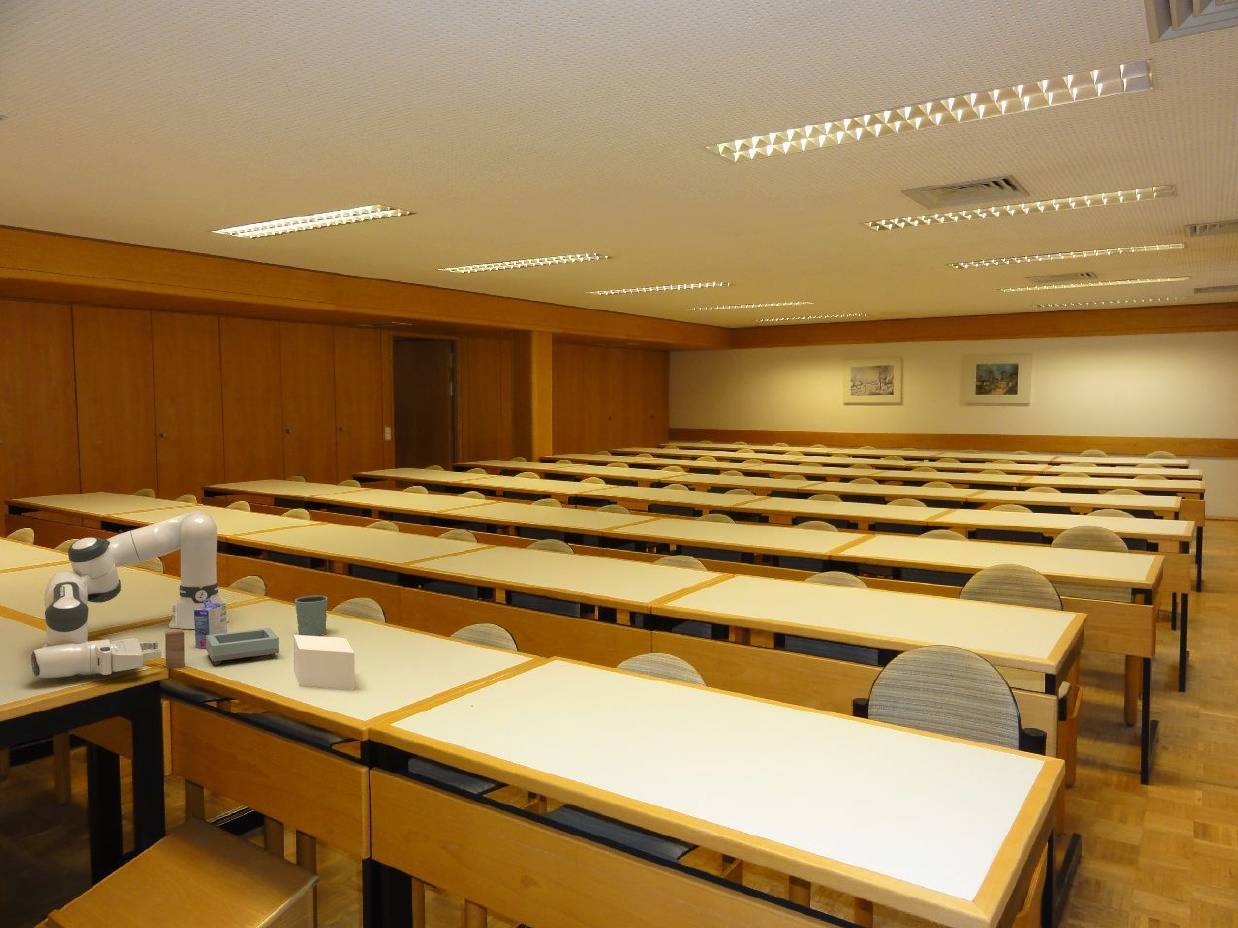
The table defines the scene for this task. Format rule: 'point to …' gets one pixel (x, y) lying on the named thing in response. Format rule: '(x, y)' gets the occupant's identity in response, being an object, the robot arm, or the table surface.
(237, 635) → the grey storage tray
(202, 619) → the ink cartridge box
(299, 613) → the grey tapered cup
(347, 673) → the white rectangular block
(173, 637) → the walnut part
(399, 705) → the table surface
